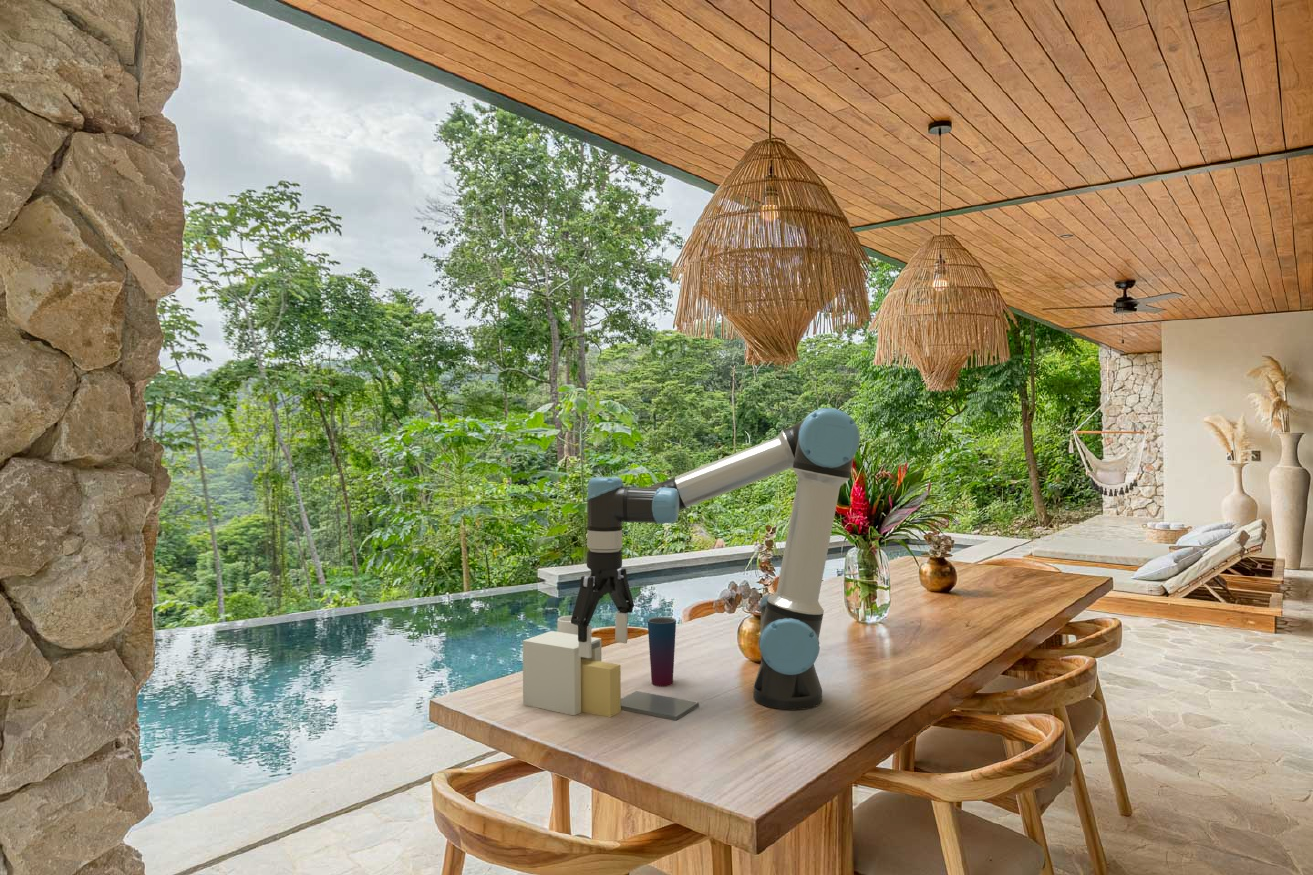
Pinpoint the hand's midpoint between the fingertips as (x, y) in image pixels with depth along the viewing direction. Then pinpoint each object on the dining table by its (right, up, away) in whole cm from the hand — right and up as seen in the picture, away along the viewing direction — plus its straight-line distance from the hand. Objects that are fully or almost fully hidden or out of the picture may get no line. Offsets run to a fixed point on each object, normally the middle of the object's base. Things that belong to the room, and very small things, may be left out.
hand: (603, 649), depth 166 cm
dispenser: (-9, -13, +6) cm, 17 cm away
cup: (+13, -14, +19) cm, 27 cm away
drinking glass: (-9, -14, +22) cm, 27 cm away
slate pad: (+11, -13, +3) cm, 17 cm away
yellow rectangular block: (-3, -13, +2) cm, 14 cm away
